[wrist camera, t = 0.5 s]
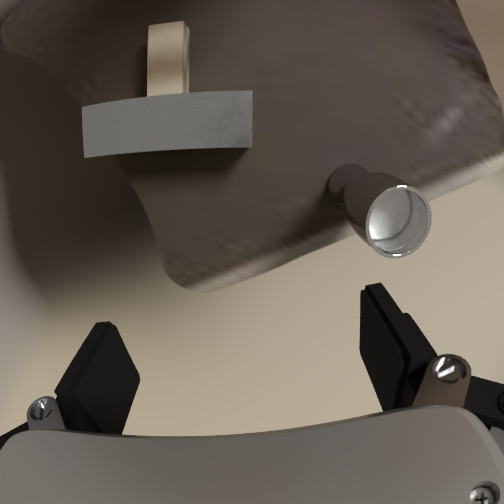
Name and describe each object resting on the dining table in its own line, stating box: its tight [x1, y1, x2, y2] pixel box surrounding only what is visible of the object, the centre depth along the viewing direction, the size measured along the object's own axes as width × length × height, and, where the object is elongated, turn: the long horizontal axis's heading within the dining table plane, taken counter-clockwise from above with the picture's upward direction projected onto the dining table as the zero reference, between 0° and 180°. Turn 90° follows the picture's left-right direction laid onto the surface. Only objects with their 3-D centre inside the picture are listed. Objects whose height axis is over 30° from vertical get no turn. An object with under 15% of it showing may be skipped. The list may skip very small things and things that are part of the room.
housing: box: [82, 91, 252, 158], centre depth 33 cm, size 6×19×6 cm, turn 90°
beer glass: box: [328, 164, 431, 258], centre depth 32 cm, size 7×7×15 cm
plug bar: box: [147, 21, 190, 97], centre depth 32 cm, size 13×4×4 cm, turn 0°
